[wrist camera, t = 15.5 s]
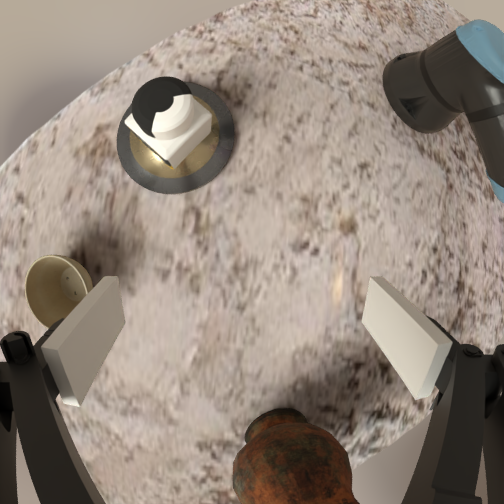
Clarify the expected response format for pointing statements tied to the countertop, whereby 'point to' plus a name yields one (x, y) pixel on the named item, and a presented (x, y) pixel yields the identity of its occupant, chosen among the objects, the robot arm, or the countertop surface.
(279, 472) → the pitcher
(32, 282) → the flower pot
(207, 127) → the medicine bottle
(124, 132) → the plate
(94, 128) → the countertop surface
